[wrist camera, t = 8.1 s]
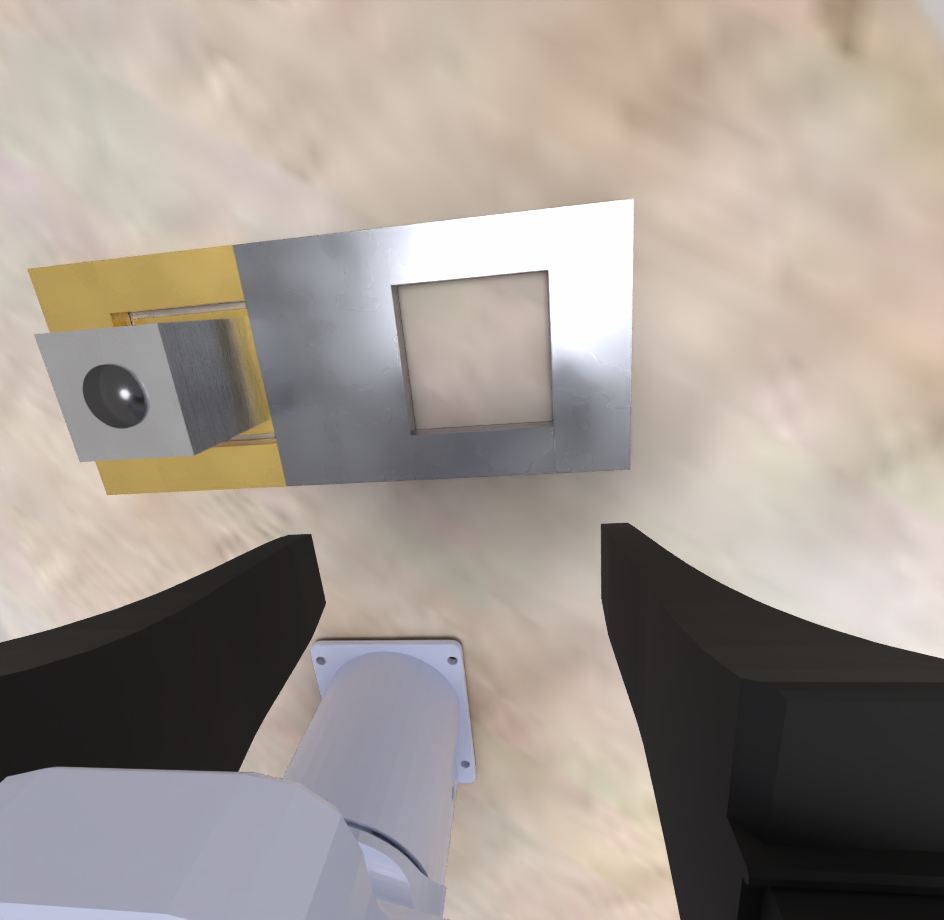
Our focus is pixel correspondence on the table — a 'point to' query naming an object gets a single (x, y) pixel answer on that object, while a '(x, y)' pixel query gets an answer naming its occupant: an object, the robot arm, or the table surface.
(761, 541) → the table surface
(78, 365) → the grey cube with hole
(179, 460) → the rail
